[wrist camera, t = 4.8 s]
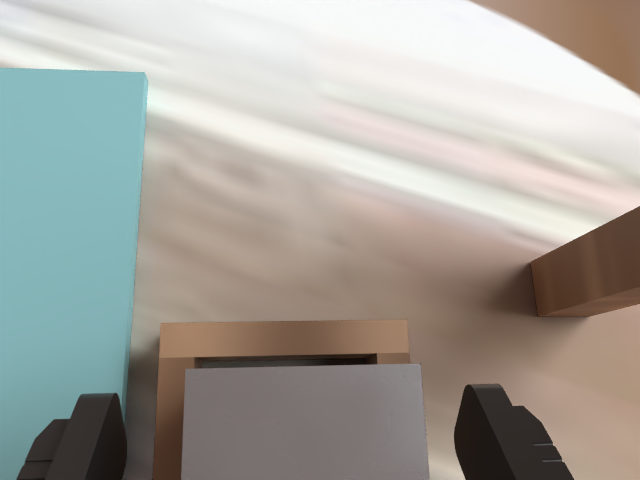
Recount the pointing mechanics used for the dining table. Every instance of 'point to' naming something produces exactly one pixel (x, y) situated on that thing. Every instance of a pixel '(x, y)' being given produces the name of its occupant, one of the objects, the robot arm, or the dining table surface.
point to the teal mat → (65, 243)
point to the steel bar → (305, 423)
